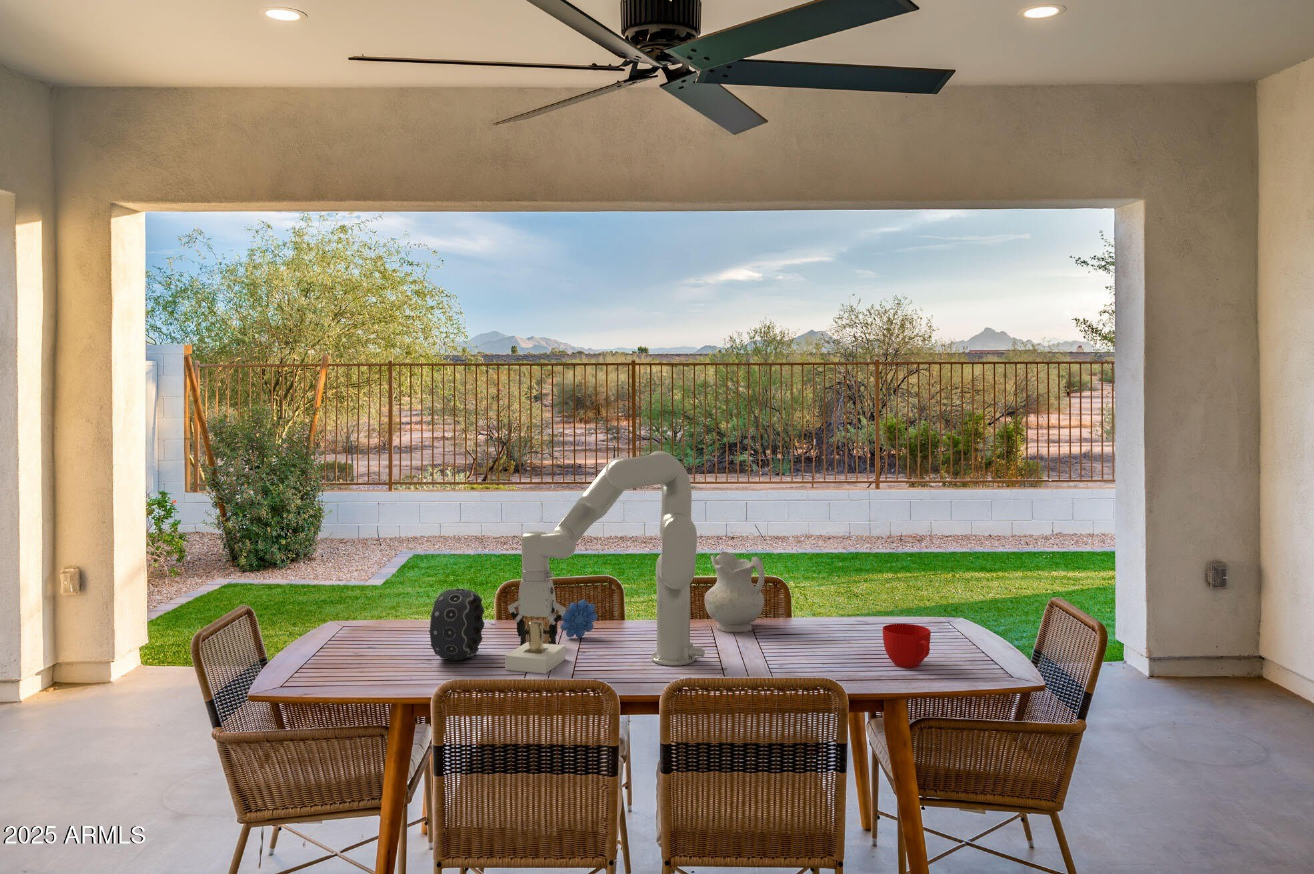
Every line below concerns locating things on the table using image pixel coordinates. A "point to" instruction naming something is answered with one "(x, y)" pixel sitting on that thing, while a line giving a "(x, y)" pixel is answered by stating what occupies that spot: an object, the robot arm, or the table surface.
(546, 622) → the ammunition clip
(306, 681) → the table surface
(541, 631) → the gold cylindrical peg
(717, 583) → the ceramic pitcher
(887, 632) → the ceramic cup
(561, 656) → the white square socket block
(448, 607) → the dark grey toy tire
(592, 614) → the blue lumpy cluster
